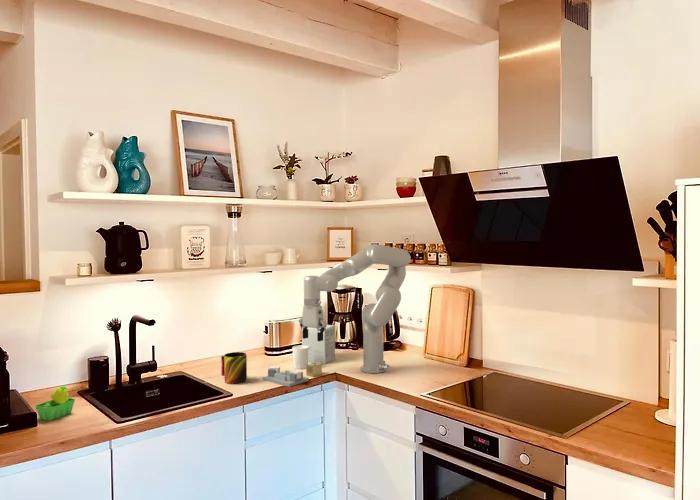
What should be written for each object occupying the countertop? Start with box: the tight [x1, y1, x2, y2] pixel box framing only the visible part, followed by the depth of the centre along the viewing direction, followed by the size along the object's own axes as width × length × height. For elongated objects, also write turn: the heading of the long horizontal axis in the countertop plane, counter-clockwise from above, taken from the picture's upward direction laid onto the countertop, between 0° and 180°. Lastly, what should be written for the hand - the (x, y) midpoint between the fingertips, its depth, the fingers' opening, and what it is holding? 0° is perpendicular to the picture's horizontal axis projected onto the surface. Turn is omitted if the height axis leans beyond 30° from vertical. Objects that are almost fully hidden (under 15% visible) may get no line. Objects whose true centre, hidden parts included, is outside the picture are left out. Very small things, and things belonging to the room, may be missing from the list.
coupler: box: [305, 362, 323, 378], centre depth 245 cm, size 6×4×5 cm, turn 140°
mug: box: [220, 351, 248, 386], centre depth 237 cm, size 10×14×12 cm
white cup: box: [291, 344, 309, 370], centre depth 260 cm, size 8×8×10 cm
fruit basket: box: [34, 385, 76, 422], centre depth 193 cm, size 11×9×11 cm
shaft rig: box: [262, 365, 310, 388], centre depth 238 cm, size 18×12×5 cm
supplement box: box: [301, 324, 336, 365], centre depth 274 cm, size 13×13×18 cm
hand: (312, 339), depth 245 cm, fingers open, 9 cm apart
